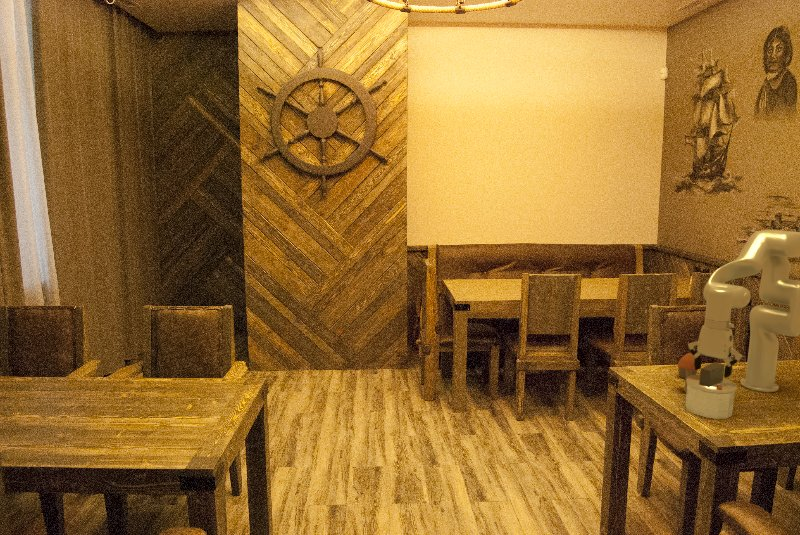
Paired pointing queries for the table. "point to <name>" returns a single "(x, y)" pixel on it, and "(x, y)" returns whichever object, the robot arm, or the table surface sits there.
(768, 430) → the table surface
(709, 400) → the pot
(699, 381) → the lid
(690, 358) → the mushroom
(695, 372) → the vase
